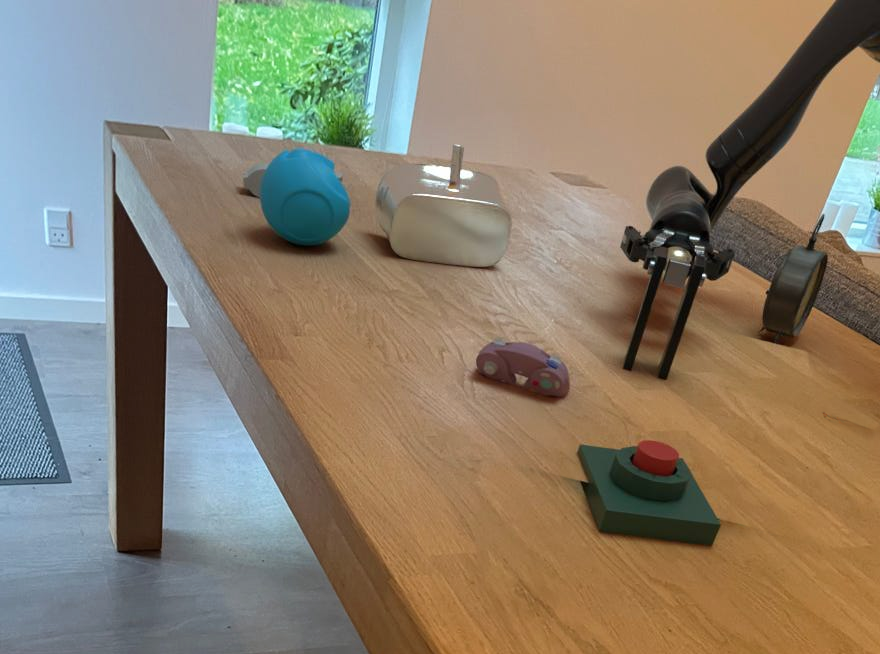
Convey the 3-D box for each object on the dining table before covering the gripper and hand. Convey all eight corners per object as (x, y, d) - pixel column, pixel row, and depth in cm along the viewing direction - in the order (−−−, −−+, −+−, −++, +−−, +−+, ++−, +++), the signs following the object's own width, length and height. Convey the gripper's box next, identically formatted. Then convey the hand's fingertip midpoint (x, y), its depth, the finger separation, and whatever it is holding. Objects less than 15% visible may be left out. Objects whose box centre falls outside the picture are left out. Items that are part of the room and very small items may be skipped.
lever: (650, 278, 117) (662, 241, 115) (685, 286, 117) (697, 249, 115) (650, 290, 105) (663, 249, 103) (689, 299, 105) (703, 258, 103)
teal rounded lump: (359, 256, 132) (372, 163, 125) (287, 260, 126) (296, 162, 119) (311, 227, 139) (320, 138, 132) (240, 230, 133) (246, 136, 126)
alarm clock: (781, 355, 128) (834, 225, 119) (742, 341, 130) (791, 213, 120) (802, 337, 136) (853, 214, 126) (764, 324, 138) (812, 202, 128)
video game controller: (468, 396, 104) (471, 348, 98) (484, 366, 106) (488, 317, 100) (557, 424, 102) (566, 377, 96) (571, 393, 104) (581, 345, 98)
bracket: (607, 352, 118) (643, 233, 110) (681, 371, 117) (723, 252, 109) (598, 387, 108) (637, 260, 100) (679, 408, 107) (724, 281, 99)
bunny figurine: (243, 155, 150) (342, 157, 151) (245, 191, 153) (341, 193, 154) (242, 170, 142) (346, 172, 144) (244, 207, 145) (345, 209, 147)
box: (573, 465, 92) (584, 425, 89) (675, 478, 93) (689, 440, 90) (598, 532, 82) (612, 490, 80) (712, 546, 83) (729, 505, 81)
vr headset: (490, 248, 146) (513, 142, 137) (508, 274, 137) (534, 162, 128) (370, 232, 142) (386, 122, 133) (381, 257, 133) (399, 141, 124)
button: (627, 455, 86) (633, 437, 85) (666, 461, 87) (673, 443, 86) (637, 475, 84) (643, 456, 83) (677, 480, 84) (684, 462, 83)
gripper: (632, 190, 124) (621, 222, 110) (745, 216, 122) (748, 251, 109) (615, 251, 128) (603, 289, 115) (724, 276, 127) (724, 318, 113)
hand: (673, 270), depth 112 cm, fingers closed on lever, 4 cm apart
